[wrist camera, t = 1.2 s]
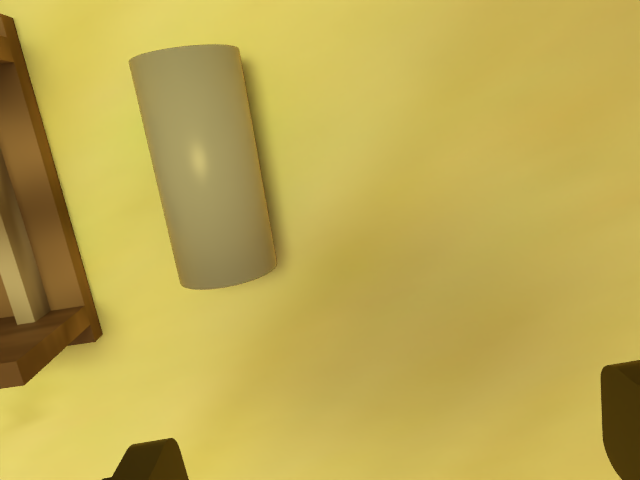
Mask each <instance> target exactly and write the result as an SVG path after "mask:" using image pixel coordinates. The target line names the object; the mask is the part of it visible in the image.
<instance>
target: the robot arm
mask: <svg viewBox="0 0 640 480" xmlns="http://www.w3.org/2000/svg"><path fill="white" fill-rule="evenodd" d="M601 402H602V431H603V442H604V447H605V450H606V453H607V456H608V458H609V460H610V462H611V464H612V466H613V468H614V470H615V471H616V472H617V474H618V475H619V476H620V478H621V479H622V480H640V360H637V361H631V362H625V363H619V364H613V365H607V366H605V367H604V368H603V369H602V372H601ZM102 480H189V479H188V476H187V472H186V469H185V465H184V462H183V459H182V455H181V452H180V449H179V446H178V444H177V442H176V440H175V439H173V438H168V439H162V440H156V441H150V442H144V443H138V444H133V445H131V446H130V447H129V448H128V449H127V451H126V453H125V455H124V456H123V458H122V460H121V462H120V463H119V465H118V467H117V469H116V471H115V472H114V474H113V476H112V477H110V478H104V479H102Z"/></svg>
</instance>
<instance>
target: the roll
mask: <svg viewBox="0 0 640 480" xmlns="http://www.w3.org/2000/svg"><path fill="white" fill-rule="evenodd" d="M129 65H130V70H131V74H132V78H133V82H134V87H135V91H136V95H137V100H138V104H139V108H140V113H141V117H142V121H143V125H144V130H145V134H146V138H147V143H148V147H149V151H150V155H151V160H152V164H153V168H154V173H155V177H156V181H157V185H158V190H159V194H160V198H161V203H162V207H163V211H164V216H165V220H166V224H167V228H168V233H169V237H170V241H171V246H172V250H173V254H174V258H175V263H176V267H177V271H178V276H179V280H180V284H181V285H182V286H183V287H185V288H189V289H199V290H202V289H216V288H223V287H229V286H234V285H238V284H242V283H245V282H248V281H251V280H254V279H257V278H259V277H261V276H264V275H266V274H267V273H269V272H271V271H272V270H273V269H274V268H275V267H276V265H277V260H276V255H275V249H274V243H273V238H272V232H271V226H270V221H269V215H268V210H267V204H266V198H265V193H264V187H263V181H262V176H261V170H260V164H259V159H258V153H257V147H256V142H255V136H254V131H253V125H252V119H251V114H250V108H249V102H248V97H247V91H246V85H245V80H244V74H243V68H242V63H241V57H240V51H239V48H237V47H235V46H230V45H193V46H183V47H175V48H168V49H162V50H157V51H152V52H148V53H144V54H141V55H138V56H136V57H133V58H132V59H130V60H129Z"/></svg>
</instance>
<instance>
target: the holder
mask: <svg viewBox="0 0 640 480" xmlns="http://www.w3.org/2000/svg"><path fill="white" fill-rule="evenodd" d="M101 335H102V331H101V327H100V324H99V320H98V317H97V313H96V310H95V306H94V303H93V299H92V296H91V292H90V289H89V285H88V282H87V278H86V274H85V271H84V267H83V264H82V260H81V257H80V253H79V250H78V246H77V243H76V239H75V236H74V232H73V229H72V225H71V222H70V218H69V215H68V211H67V208H66V204H65V201H64V197H63V194H62V190H61V187H60V183H59V180H58V176H57V173H56V169H55V166H54V162H53V159H52V155H51V152H50V148H49V145H48V141H47V137H46V134H45V130H44V127H43V123H42V120H41V116H40V113H39V109H38V106H37V102H36V99H35V95H34V92H33V88H32V85H31V81H30V78H29V74H28V71H27V67H26V64H25V60H24V57H23V53H22V50H21V46H20V43H19V39H18V36H17V32H16V29H15V25H14V22H13V18H11V17H8V16H5V15H3V14H0V389H1V388H8V387H15V386H22V385H25V384H26V383H27V382H28V381H29V380H30V379H32V378H33V377H34V376H35V375H36V374H37V373H38V372H39V371H40V370H41V369H42V368H44V367H45V366H46V365H47V364H48V363H49V362H50V361H51V360H52V359H53V358H54V357H56V356H57V355H58V354H59V353H60V352H61V351H62V350H63V349H64V348H65V347H66V346H69V345H76V344H83V343H90V342H95V341H96V340H97V339H98V338H99V337H100V336H101Z"/></svg>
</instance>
